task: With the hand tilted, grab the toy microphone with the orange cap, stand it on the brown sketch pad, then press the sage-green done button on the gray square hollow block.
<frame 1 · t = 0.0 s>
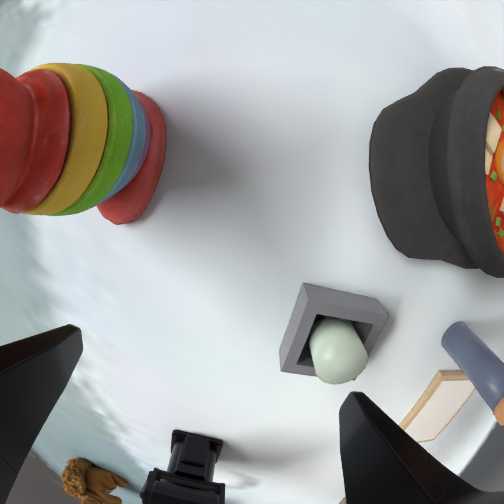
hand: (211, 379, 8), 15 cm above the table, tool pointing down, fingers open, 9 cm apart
toy microphone: (453, 335, 24), on the table
stacking bear: (115, 146, 20), on the table
sketch pad: (435, 408, 28), on the table
gray square hollow block: (327, 326, 24), on the table
done button: (336, 349, 20), point 4 cm above the table, slide at 0.0 cm
stuffed squirrel: (97, 468, 37), on the table
casserole: (472, 167, 19), on the table
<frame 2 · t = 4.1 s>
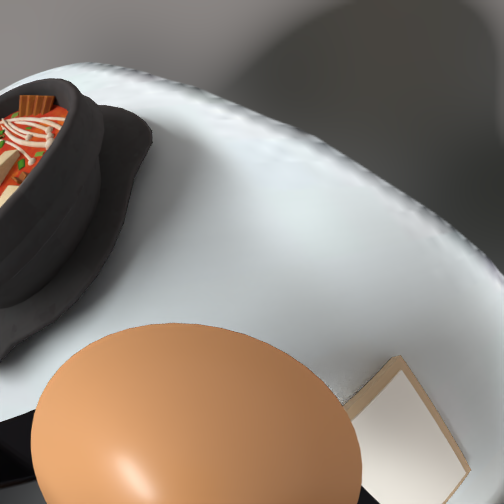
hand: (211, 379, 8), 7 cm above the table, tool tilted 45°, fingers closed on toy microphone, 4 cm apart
toy microphone: (205, 404, 13), on the table, touching gripper
sketch pad: (391, 474, 12), on the table
casserole: (29, 226, 16), on the table
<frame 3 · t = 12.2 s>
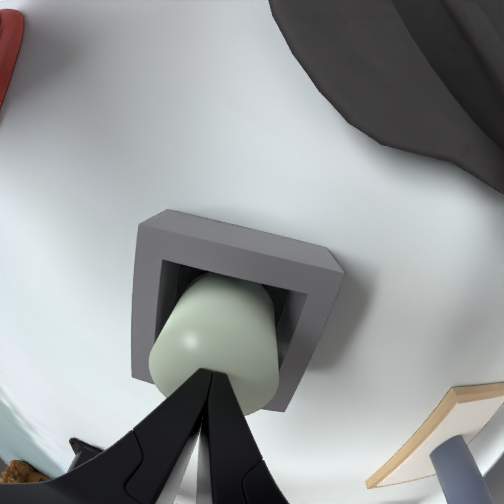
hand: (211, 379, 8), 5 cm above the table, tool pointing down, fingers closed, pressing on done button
toy microphone: (446, 447, 16), point 1 cm above the table, touching sketch pad
sketch pad: (441, 438, 17), on the table
gray square hollow block: (229, 301, 13), on the table
done button: (220, 341, 10), point 3 cm above the table, slide at 0.3 cm, touching gripper
stuffed squirrel: (41, 473, 27), on the table
casserole: (474, 40, 8), on the table
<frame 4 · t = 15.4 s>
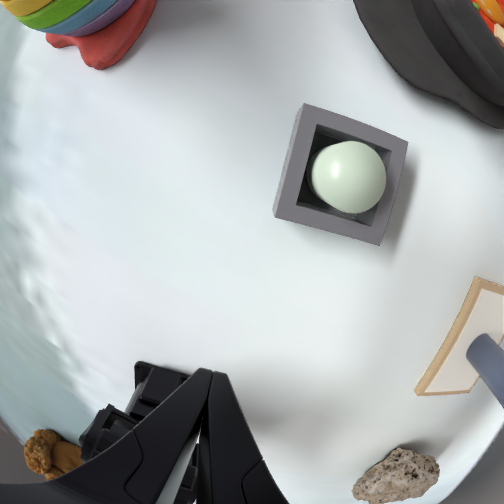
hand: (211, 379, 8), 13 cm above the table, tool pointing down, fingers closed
toy microphone: (478, 347, 21), point 1 cm above the table, touching sketch pad
pumice stone: (394, 459, 30), on the table
stacking bear: (109, 12, 14), on the table
sketch pad: (472, 341, 23), on the table
gray square hollow block: (333, 174, 18), on the table
done button: (343, 175, 16), point 2 cm above the table, slide at 1.1 cm
stuffed squirrel: (67, 444, 32), on the table
casserole: (463, 38, 14), on the table
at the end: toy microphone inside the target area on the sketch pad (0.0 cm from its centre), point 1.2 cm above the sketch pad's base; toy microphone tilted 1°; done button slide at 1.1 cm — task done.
